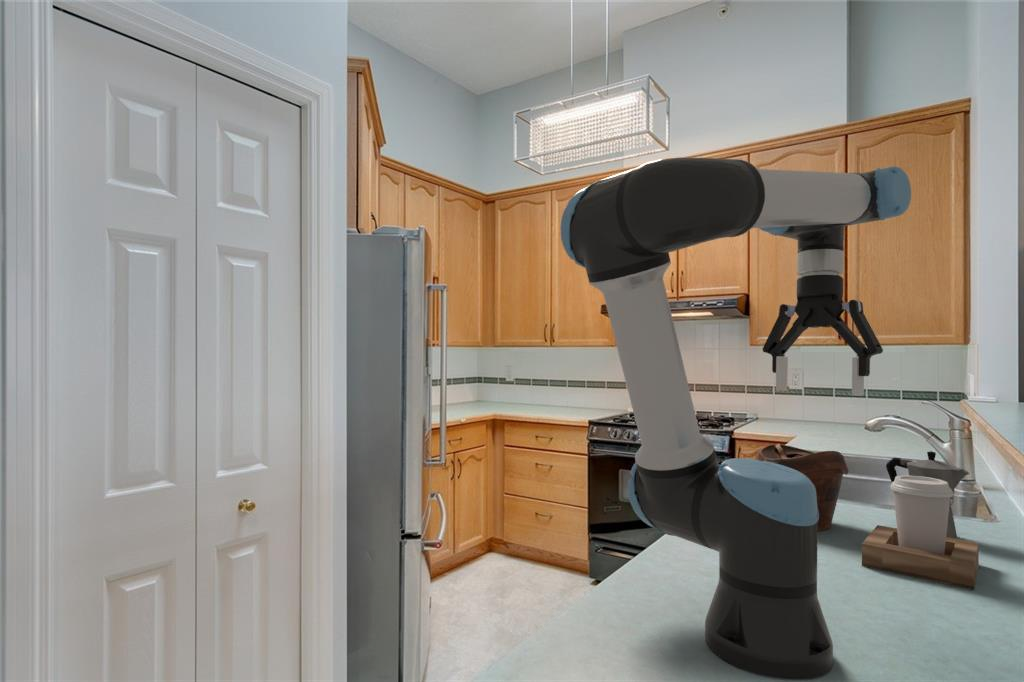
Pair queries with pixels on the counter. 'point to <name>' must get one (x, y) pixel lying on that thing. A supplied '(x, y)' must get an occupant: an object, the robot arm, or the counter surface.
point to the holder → (922, 559)
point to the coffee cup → (921, 512)
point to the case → (812, 474)
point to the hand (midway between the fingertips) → (817, 393)
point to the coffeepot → (931, 470)
